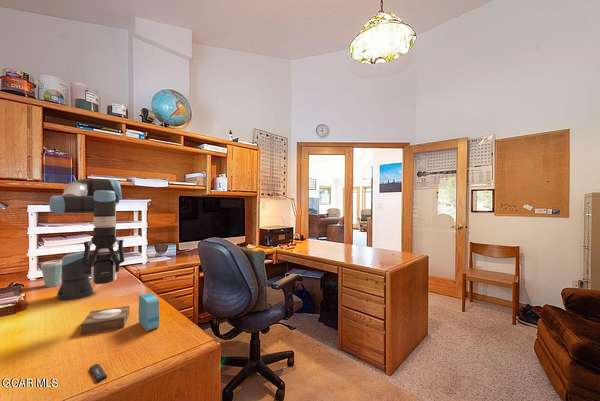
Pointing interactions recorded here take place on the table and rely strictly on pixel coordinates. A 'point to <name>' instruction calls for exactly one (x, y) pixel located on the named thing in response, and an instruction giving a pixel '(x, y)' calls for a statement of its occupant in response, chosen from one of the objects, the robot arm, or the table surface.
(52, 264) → the disposable coffee cup
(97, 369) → the usb stick
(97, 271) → the supplement bottle
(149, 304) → the light-blue rounded block
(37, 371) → the table surface
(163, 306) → the table surface
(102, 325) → the base
